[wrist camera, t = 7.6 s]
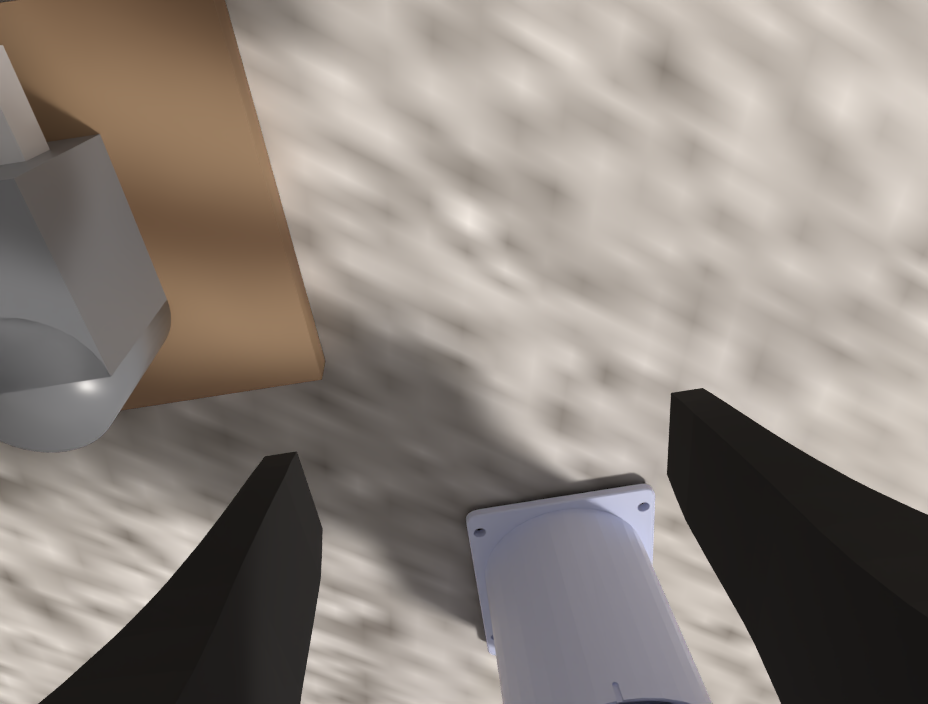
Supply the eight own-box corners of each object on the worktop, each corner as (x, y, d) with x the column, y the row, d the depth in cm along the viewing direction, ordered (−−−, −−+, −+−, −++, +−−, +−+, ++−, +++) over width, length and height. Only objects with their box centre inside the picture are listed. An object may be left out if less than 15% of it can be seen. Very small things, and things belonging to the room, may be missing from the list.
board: (325, 361, 23) (321, 379, 22) (-11, 412, 23) (-31, 433, 22) (217, -27, 17) (205, -28, 16) (-244, 40, 17) (-287, 44, 15)
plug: (189, 354, 21) (141, 439, 17) (67, 372, 21) (-9, 462, 17) (60, 35, 16) (-48, 53, 12) (-99, 59, 16) (-258, 84, 12)
